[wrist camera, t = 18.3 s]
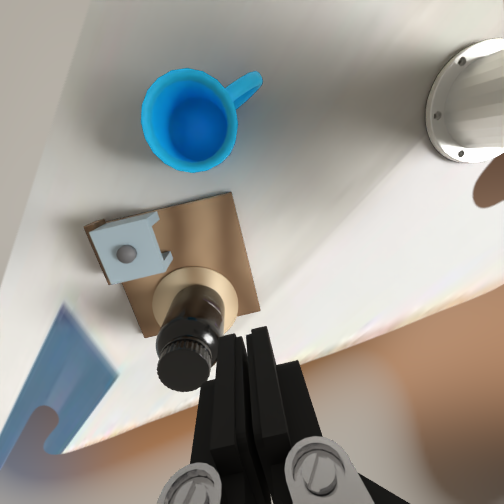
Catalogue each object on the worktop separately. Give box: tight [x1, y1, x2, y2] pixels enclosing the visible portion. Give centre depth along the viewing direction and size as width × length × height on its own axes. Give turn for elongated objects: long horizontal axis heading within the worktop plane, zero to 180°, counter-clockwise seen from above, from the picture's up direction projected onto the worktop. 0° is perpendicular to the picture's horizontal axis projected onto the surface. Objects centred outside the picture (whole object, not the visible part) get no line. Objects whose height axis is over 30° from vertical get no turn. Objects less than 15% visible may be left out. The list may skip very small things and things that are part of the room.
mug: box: [141, 68, 263, 173], centre depth 28 cm, size 12×8×8 cm
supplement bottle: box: [156, 285, 225, 392], centre depth 31 cm, size 7×7×12 cm
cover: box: [89, 211, 173, 285], centre depth 32 cm, size 6×6×5 cm
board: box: [84, 192, 260, 338], centre depth 35 cm, size 16×19×4 cm
